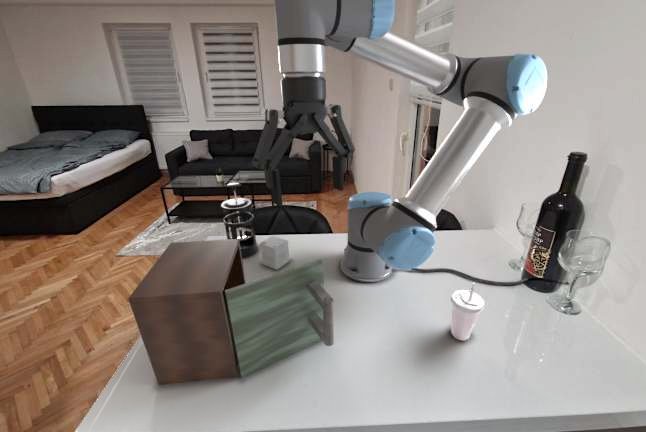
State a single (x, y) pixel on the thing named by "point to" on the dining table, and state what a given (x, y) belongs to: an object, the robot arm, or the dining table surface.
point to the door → (279, 316)
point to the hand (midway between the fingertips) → (309, 196)
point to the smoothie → (465, 312)
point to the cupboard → (190, 311)
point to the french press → (245, 233)
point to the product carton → (275, 252)
